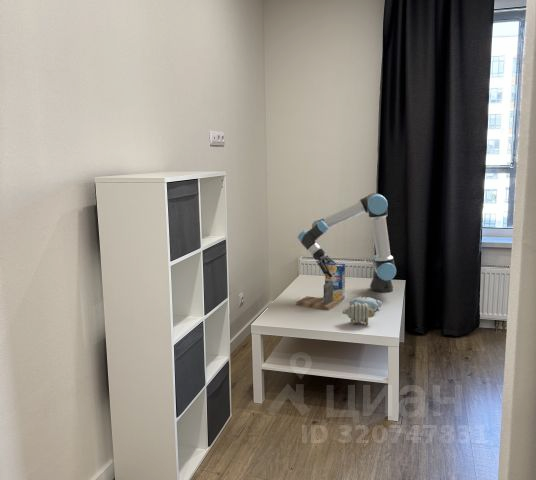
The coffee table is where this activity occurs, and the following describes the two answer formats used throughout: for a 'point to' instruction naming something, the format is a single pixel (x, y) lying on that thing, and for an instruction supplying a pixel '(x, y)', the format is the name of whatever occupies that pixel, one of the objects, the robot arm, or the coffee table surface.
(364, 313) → the toy sheep
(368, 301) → the figurine
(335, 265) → the beverage box
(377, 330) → the coffee table surface
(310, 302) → the wooden stand
